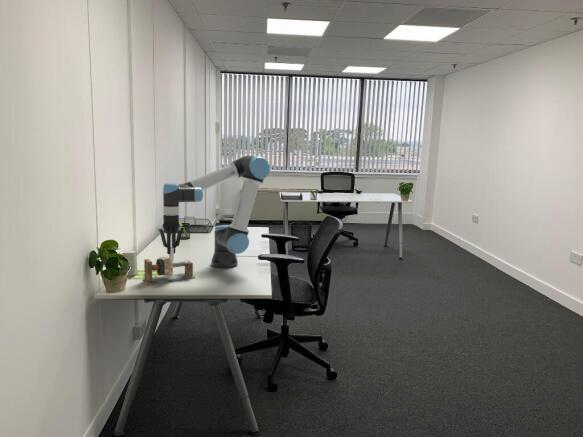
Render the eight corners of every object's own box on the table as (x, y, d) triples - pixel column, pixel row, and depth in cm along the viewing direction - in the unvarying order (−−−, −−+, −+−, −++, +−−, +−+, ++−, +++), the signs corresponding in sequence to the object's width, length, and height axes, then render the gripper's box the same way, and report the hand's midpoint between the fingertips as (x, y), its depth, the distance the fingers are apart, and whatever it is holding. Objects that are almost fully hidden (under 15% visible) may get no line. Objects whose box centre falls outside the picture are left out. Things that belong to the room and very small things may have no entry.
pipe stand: (188, 273, 231) (188, 253, 229) (194, 277, 224) (194, 257, 222) (142, 280, 217) (142, 258, 216) (148, 285, 210) (148, 263, 208)
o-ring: (159, 272, 221) (159, 257, 220) (165, 276, 215) (164, 260, 214) (156, 272, 220) (155, 257, 219) (161, 276, 214) (161, 261, 213)
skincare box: (137, 273, 228) (137, 250, 226) (135, 275, 224) (134, 252, 222) (125, 273, 228) (124, 250, 226) (122, 275, 223) (121, 252, 221)
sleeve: (167, 270, 224) (167, 256, 222) (172, 275, 217) (172, 260, 216) (159, 272, 221) (159, 257, 220) (165, 276, 215) (164, 261, 214)
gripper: (180, 212, 223) (180, 257, 227) (155, 213, 215) (156, 259, 219) (186, 214, 217) (186, 260, 221) (160, 216, 209) (161, 263, 213)
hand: (171, 260), depth 220 cm, fingers closed
